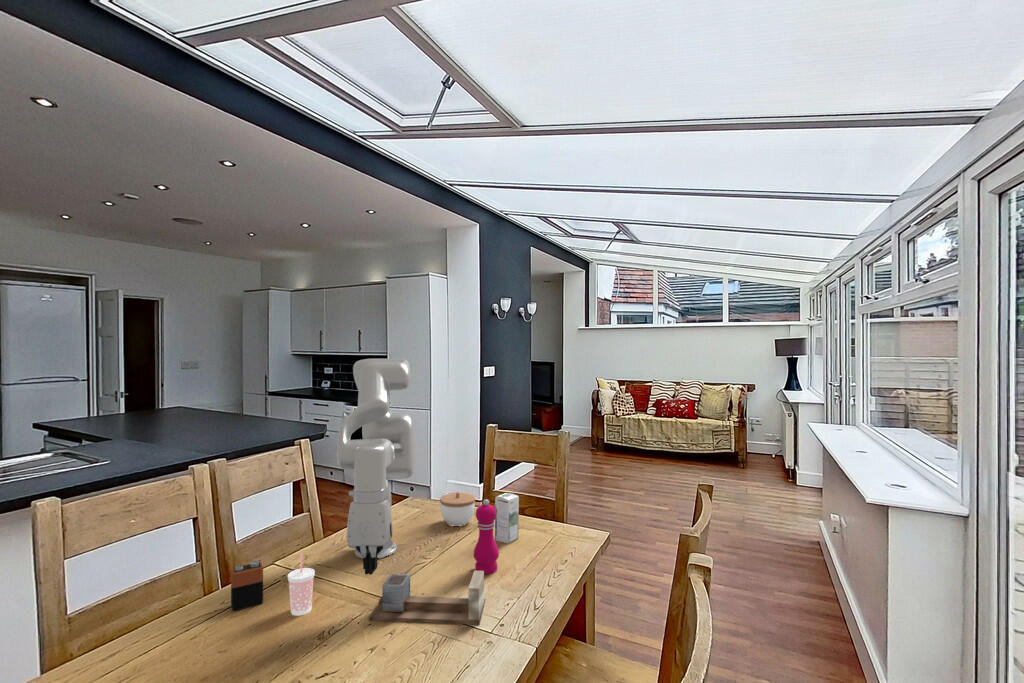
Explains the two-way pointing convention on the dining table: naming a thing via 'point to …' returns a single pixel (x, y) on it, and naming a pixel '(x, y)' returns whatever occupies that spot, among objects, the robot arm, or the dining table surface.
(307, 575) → the beverage cup
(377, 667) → the dining table surface
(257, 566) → the battery
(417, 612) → the rail
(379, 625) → the dining table surface
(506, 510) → the syrup box
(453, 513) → the lidded bowl
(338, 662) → the dining table surface
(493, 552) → the pepper mill
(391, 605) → the block
